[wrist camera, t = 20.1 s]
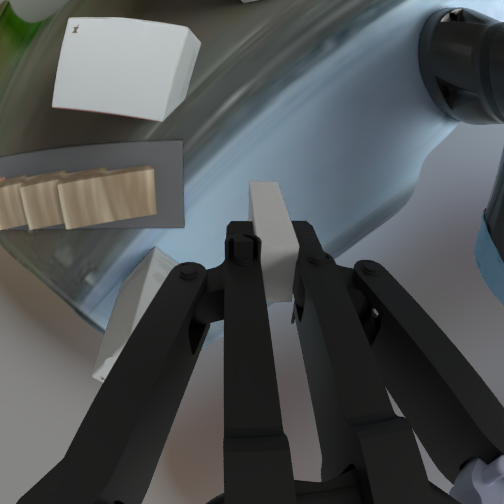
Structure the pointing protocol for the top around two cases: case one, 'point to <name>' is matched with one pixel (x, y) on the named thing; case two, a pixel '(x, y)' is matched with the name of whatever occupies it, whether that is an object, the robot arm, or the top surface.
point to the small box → (124, 67)
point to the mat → (114, 157)
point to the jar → (247, 1)
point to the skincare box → (131, 307)
